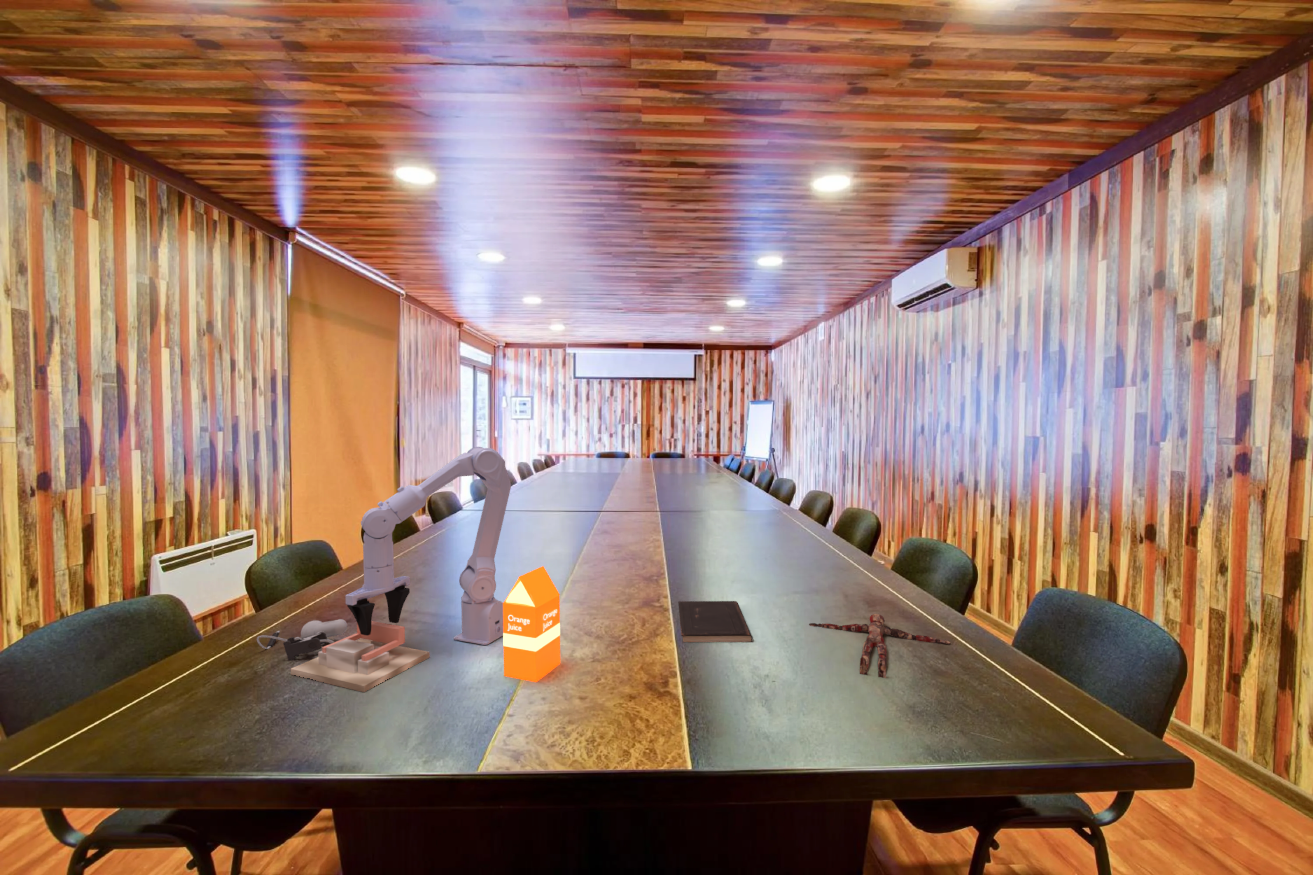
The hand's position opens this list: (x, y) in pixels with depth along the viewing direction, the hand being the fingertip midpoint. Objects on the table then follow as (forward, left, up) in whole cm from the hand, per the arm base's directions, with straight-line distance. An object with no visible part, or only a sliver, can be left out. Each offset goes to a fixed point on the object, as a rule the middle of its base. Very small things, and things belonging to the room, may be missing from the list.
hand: (380, 628), depth 116 cm
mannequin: (-98, -42, -7) cm, 107 cm away
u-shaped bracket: (0, +4, -3) cm, 5 cm away
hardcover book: (-61, -43, -7) cm, 75 cm away
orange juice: (-34, -6, -6) cm, 35 cm away
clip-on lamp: (+21, +3, -7) cm, 22 cm away
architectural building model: (0, +4, -6) cm, 8 cm away
